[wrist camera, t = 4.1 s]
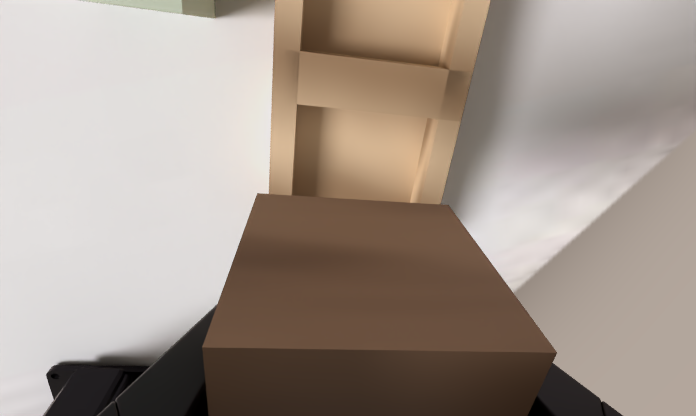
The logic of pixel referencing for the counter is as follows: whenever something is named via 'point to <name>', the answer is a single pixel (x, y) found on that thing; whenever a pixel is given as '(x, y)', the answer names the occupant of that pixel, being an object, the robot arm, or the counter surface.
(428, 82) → the box
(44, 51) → the counter surface
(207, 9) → the sage cube
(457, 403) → the walnut cube
